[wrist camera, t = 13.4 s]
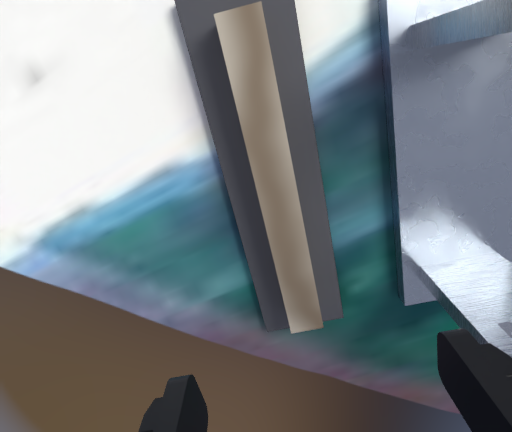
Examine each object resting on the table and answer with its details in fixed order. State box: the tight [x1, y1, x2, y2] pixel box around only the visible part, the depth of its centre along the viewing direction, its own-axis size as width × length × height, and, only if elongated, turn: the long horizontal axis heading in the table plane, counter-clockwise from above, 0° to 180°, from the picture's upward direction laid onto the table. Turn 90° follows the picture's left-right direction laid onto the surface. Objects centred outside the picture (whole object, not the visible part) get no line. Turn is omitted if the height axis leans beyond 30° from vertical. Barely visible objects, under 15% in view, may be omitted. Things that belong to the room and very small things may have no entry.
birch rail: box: [214, 1, 324, 334], centre depth 26 cm, size 3×26×3 cm, turn 13°
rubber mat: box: [175, 0, 344, 332], centre depth 28 cm, size 8×30×1 cm, turn 13°
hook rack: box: [378, 0, 512, 357], centre depth 21 cm, size 10×27×14 cm, turn 13°
